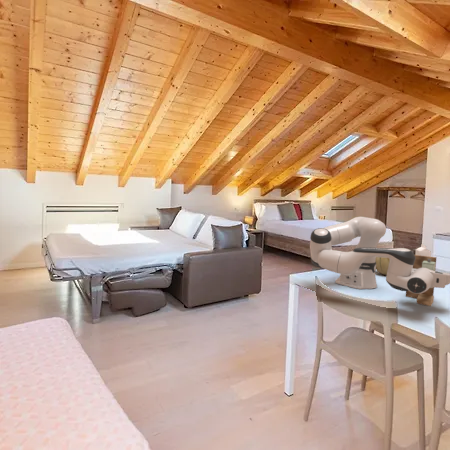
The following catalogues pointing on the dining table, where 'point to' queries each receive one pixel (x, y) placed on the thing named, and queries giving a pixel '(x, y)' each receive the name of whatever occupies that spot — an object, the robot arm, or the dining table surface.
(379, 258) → the cantaloupe
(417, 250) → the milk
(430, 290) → the brown tall block
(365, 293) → the dining table surface
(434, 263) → the olive rectangular canister
